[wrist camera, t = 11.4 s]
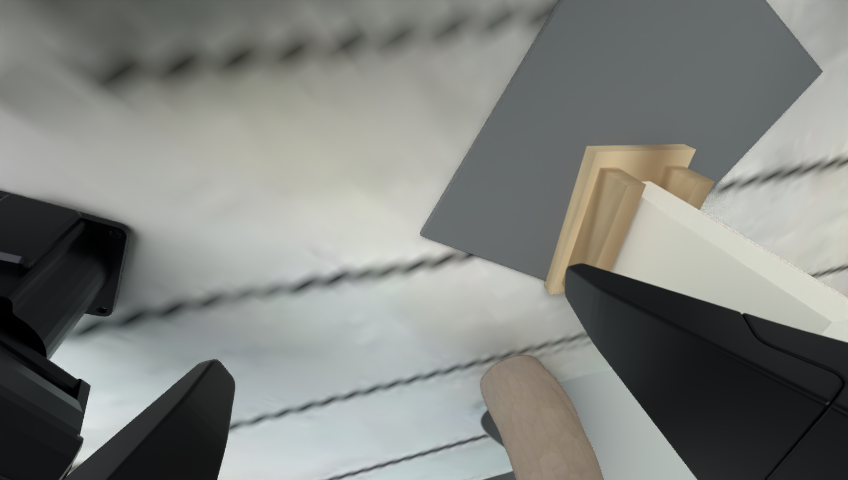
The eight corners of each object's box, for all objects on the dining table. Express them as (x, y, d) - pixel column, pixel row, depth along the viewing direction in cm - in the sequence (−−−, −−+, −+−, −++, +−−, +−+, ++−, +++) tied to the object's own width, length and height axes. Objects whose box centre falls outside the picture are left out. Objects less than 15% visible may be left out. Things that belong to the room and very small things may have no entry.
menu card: (587, 271, 27) (734, 429, 17) (620, 182, 23) (832, 322, 13) (614, 268, 27) (771, 421, 18) (650, 181, 24) (876, 315, 14)
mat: (602, 298, 31) (605, 302, 31) (419, 232, 24) (421, 236, 23) (816, 70, 23) (822, 71, 23) (643, -141, 16) (649, -144, 15)
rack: (544, 286, 28) (568, 318, 26) (586, 146, 22) (624, 168, 20) (623, 277, 30) (654, 307, 27) (683, 144, 24) (731, 164, 21)
